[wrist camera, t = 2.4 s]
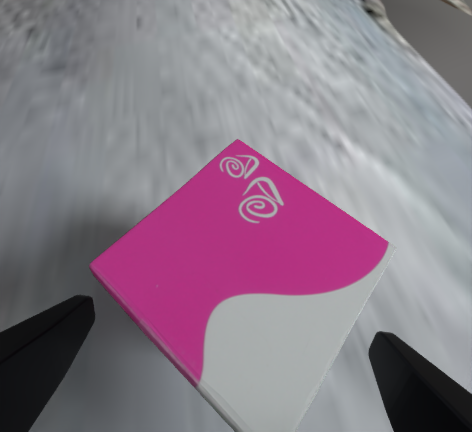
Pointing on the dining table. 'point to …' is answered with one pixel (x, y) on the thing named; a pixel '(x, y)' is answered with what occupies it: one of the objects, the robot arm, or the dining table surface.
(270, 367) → the supplement box
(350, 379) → the dining table surface
